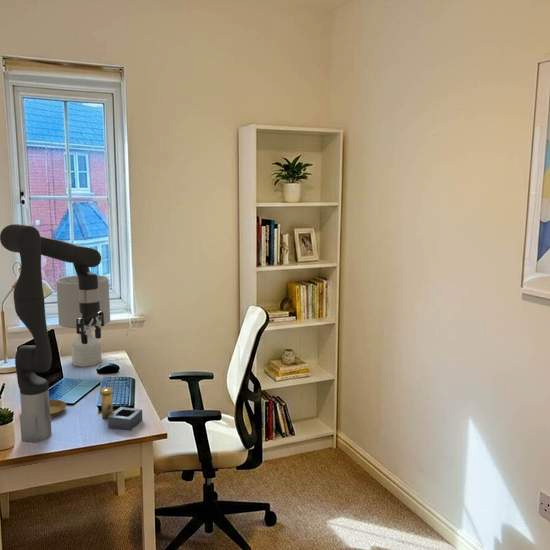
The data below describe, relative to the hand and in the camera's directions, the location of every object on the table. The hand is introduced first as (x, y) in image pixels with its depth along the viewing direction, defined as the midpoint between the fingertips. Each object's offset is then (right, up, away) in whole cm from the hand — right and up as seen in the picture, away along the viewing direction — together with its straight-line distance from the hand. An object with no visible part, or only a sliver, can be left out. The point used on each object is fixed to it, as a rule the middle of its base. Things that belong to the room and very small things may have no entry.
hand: (91, 341), depth 209 cm
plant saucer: (-18, -29, +1) cm, 34 cm away
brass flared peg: (+7, -29, -2) cm, 30 cm away
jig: (+16, -30, -9) cm, 35 cm away
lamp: (-23, -18, +60) cm, 67 cm away
